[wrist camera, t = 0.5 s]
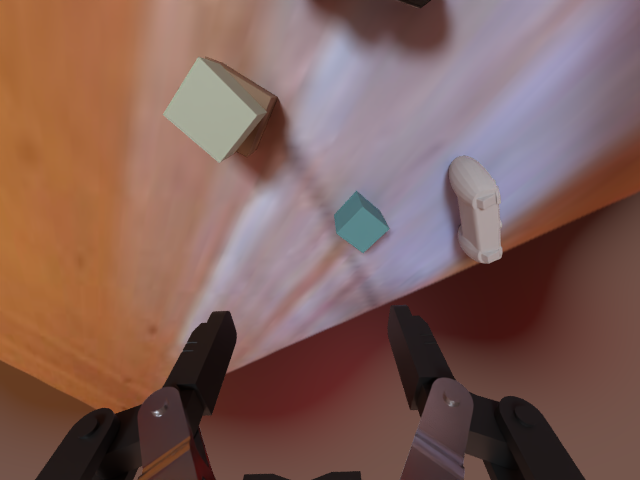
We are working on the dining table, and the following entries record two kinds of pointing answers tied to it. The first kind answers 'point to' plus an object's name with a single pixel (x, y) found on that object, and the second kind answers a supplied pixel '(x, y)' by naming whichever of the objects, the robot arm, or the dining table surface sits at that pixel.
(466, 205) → the game controller
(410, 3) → the camera
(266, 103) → the walnut base block
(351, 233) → the teal block
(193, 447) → the robot arm
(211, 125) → the sage block
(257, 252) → the dining table surface
